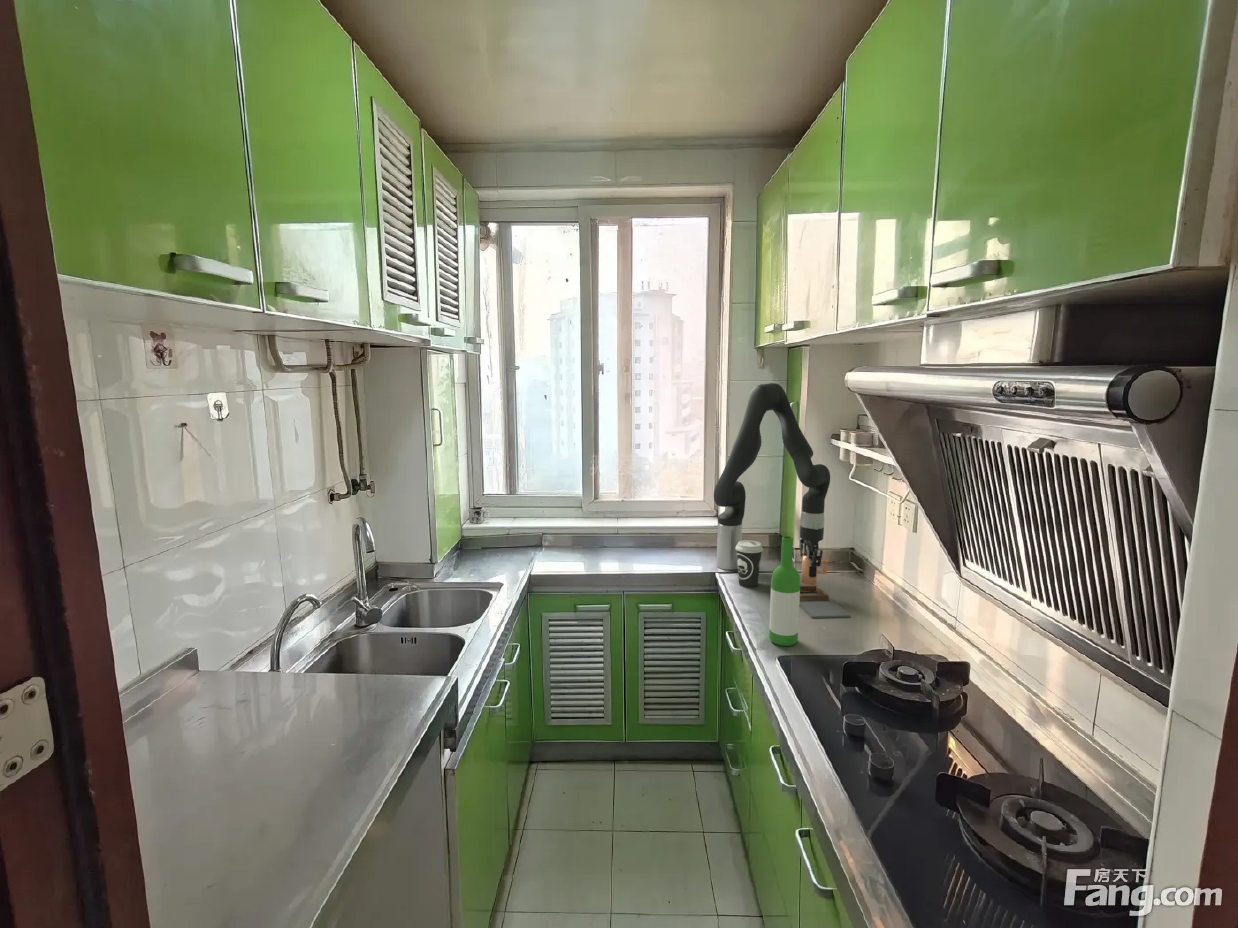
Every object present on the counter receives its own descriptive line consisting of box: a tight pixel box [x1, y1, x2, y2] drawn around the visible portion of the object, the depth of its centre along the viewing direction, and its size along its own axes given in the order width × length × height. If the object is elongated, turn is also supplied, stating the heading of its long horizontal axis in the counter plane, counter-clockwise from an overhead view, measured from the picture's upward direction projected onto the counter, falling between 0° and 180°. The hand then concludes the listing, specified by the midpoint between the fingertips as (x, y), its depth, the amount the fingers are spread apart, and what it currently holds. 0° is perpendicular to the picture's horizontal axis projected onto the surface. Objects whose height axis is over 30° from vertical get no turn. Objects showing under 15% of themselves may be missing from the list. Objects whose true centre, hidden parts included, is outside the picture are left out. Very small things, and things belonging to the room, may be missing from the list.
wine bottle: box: [768, 535, 801, 647], centre depth 168 cm, size 8×8×30 cm
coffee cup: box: [735, 539, 764, 588], centre depth 214 cm, size 10×10×15 cm
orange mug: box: [800, 555, 828, 586], centre depth 203 cm, size 8×5×9 cm, turn 94°
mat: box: [799, 600, 851, 619], centre depth 192 cm, size 12×12×1 cm
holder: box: [799, 584, 830, 602], centre depth 204 cm, size 10×10×2 cm
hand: (809, 573), depth 203 cm, fingers closed on orange mug, 5 cm apart
